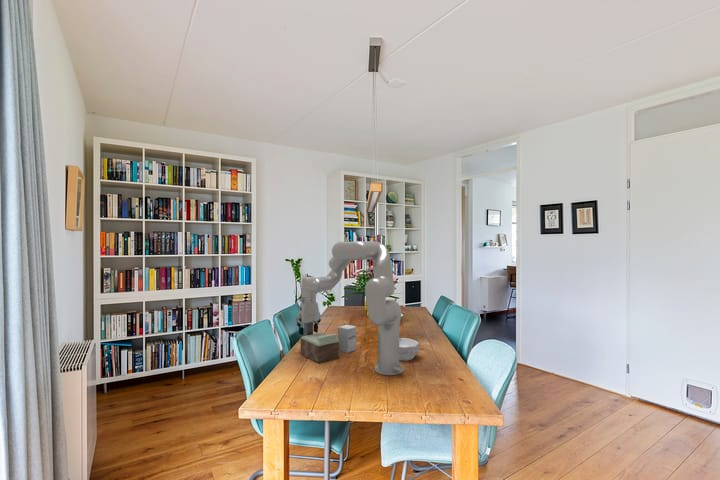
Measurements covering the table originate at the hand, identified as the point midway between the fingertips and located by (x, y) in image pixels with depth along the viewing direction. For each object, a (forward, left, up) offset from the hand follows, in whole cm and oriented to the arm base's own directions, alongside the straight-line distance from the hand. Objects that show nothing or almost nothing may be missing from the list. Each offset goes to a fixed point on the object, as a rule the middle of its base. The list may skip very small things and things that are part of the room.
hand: (308, 333), depth 184 cm
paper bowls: (-38, -32, -10) cm, 51 cm away
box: (-8, 0, -10) cm, 12 cm away
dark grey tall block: (0, 0, -4) cm, 4 cm away
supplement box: (-11, -17, -10) cm, 22 cm away
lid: (-11, 0, -1) cm, 11 cm away
